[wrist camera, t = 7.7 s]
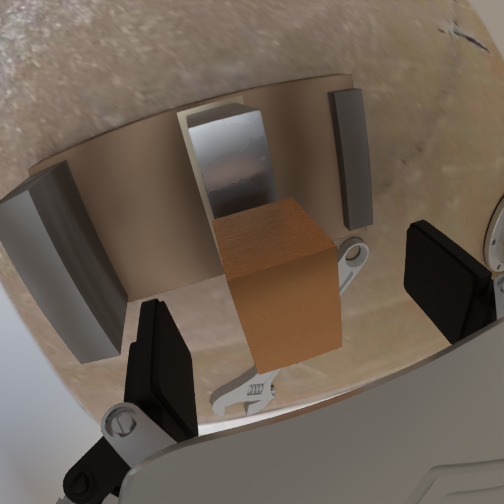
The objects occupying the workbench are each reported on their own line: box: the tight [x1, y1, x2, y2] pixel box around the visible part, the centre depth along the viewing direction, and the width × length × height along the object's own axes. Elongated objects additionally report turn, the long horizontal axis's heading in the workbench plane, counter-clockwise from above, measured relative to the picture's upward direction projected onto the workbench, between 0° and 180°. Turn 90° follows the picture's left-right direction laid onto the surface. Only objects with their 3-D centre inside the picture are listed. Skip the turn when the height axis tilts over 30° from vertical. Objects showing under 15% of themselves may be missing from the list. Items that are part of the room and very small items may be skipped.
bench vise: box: [0, 74, 373, 364], centre depth 19 cm, size 22×12×8 cm, turn 103°
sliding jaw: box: [186, 103, 342, 375], centre depth 15 cm, size 3×11×12 cm, turn 13°
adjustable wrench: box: [211, 238, 369, 417], centre depth 31 cm, size 25×6×2 cm, turn 146°
